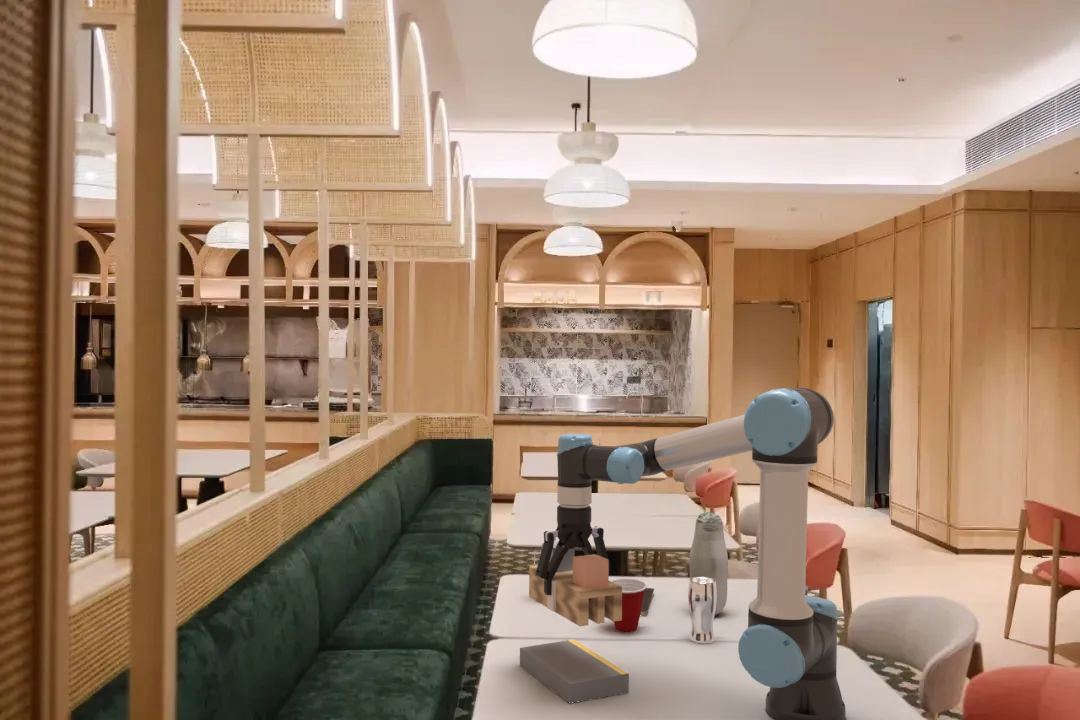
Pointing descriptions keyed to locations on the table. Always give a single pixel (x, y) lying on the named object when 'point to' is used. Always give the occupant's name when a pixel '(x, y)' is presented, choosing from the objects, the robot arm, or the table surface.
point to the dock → (574, 670)
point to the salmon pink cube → (590, 571)
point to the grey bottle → (710, 554)
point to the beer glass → (702, 608)
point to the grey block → (565, 559)
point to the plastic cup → (630, 603)
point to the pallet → (579, 598)
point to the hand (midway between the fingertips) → (573, 606)
